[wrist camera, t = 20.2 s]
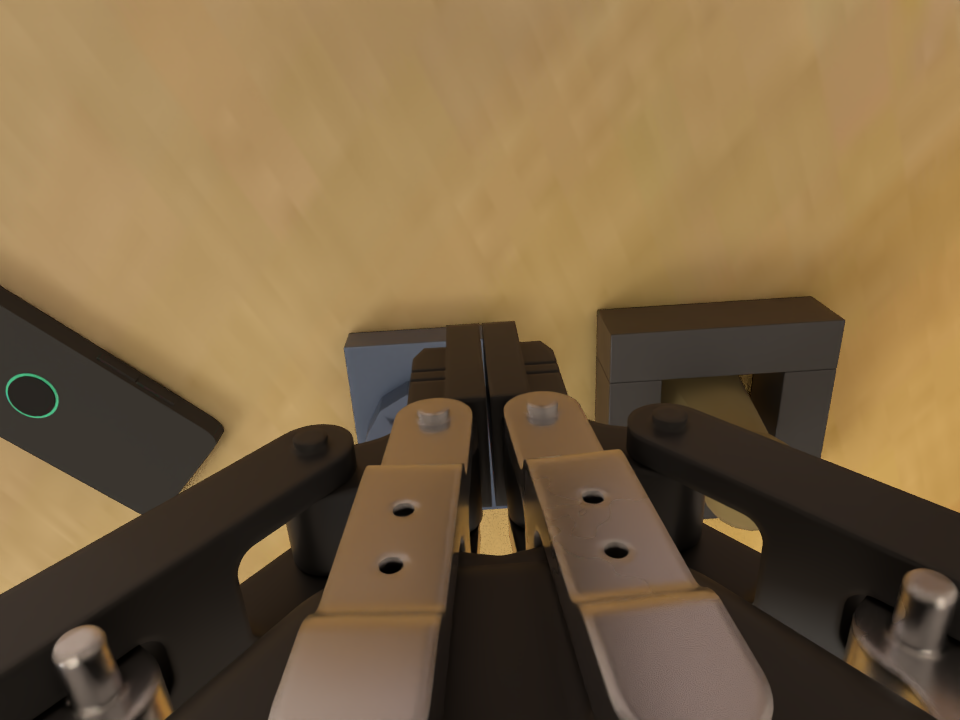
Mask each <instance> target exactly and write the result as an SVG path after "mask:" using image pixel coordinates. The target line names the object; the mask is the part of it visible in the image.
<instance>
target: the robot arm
mask: <svg viewBox="0 0 960 720" xmlns="http://www.w3.org/2000/svg"><path fill="white" fill-rule="evenodd" d="M482 337H483V355H484V369H483V359H482V349H481V338H480V328H479V323H478V324H462V325H447V326H446V347H438V348H424V349H423V350H422V351H421V352H420V353H418V354H417V355H416V356H415V357H414V358H413V362H412V370H411V371H412V373H411V378H410V386H409V394H408V402H407V406H405V407H404V408H402V409H401V410H400V411H399V412H398V413H397V415H396V417H395V420H394V423H393V426H392V430H391V433H390V434H388V435H386V436H383V437H381V438H378V439H375V440H371V441H368V442H363V443H359V444H355V445H354V442H353V437H352V434H351V433H350V432H349V431H348V430H346V429H345V428H343V427H340V426H336V425H328V424H319V425H310V426H305V427H301V428H298V429H295V430H293V431H290V432H288V433H286V434H284V435H282V436H281V437H279V438H277V439H275V440H274V441H272V442H270V443H268V444H267V445H265V446H263V447H261V448H259V449H258V450H256V451H254V452H252V453H251V454H249V455H247V456H245V457H243V458H242V459H240V460H238V461H236V462H235V463H233V464H231V465H229V466H228V467H226V468H224V469H222V470H220V471H219V472H217V473H215V474H213V475H212V476H210V477H208V478H206V479H204V480H203V481H201V482H199V483H197V484H196V485H194V486H192V487H190V488H189V489H187V490H185V491H183V492H181V493H180V494H178V495H176V496H174V497H173V498H171V499H169V500H167V501H165V502H164V503H162V504H160V505H158V506H157V507H155V508H153V509H151V510H150V511H148V512H146V513H144V514H142V515H141V516H139V517H137V518H135V519H134V520H132V521H130V522H128V523H126V524H125V525H123V526H121V527H119V528H118V529H116V530H114V531H112V532H111V533H109V534H107V535H105V536H103V537H102V538H100V539H98V540H96V541H95V542H93V543H91V544H89V545H87V546H86V547H84V548H82V549H80V550H79V551H77V552H75V553H73V554H72V555H70V556H68V557H66V558H64V559H63V560H61V561H59V562H57V563H56V564H54V565H52V566H50V567H48V568H47V569H45V570H43V571H41V572H40V573H38V574H36V575H34V576H33V577H31V578H29V579H27V580H25V581H24V582H22V583H20V584H18V585H17V586H15V587H13V588H11V589H9V590H8V591H6V592H4V593H2V594H1V595H0V720H960V513H958V512H956V511H953V510H950V509H948V508H945V507H943V506H940V505H938V504H935V503H933V502H930V501H928V500H925V499H922V498H920V497H917V496H915V495H912V494H910V493H907V492H905V491H902V490H900V489H897V488H894V487H892V486H889V485H887V484H884V483H882V482H879V481H877V480H874V479H872V478H869V477H866V476H864V475H861V474H859V473H856V472H854V471H851V470H849V469H846V468H844V467H841V466H838V465H836V464H833V463H831V462H828V461H826V460H823V459H821V458H818V457H816V456H813V455H810V454H808V453H805V452H803V451H800V450H798V449H795V448H793V447H790V446H788V445H785V444H783V443H780V442H777V441H775V440H772V439H770V438H767V437H765V436H762V435H760V434H757V433H755V432H752V431H749V430H747V429H744V428H742V427H739V426H737V425H734V424H732V423H729V422H727V421H724V420H721V419H719V418H716V417H714V416H711V415H709V414H706V413H704V412H701V411H699V410H696V409H693V408H690V407H688V406H684V405H679V404H671V403H656V404H649V405H645V406H642V407H639V408H637V409H635V410H634V411H632V412H631V413H630V415H629V417H628V421H627V427H624V426H615V425H607V424H602V423H597V422H594V421H591V420H588V419H587V417H586V415H585V413H584V412H583V410H582V408H581V406H580V404H579V403H578V402H577V401H576V400H575V399H573V398H572V397H570V396H568V395H567V392H566V388H565V385H564V382H563V379H562V376H561V373H560V371H559V367H558V364H557V362H556V358H555V355H554V352H553V350H552V349H551V348H549V347H548V346H547V345H545V344H544V343H542V342H541V341H530V342H519V338H518V334H517V329H516V325H515V321H508V322H492V323H482ZM484 372H485V380H484ZM487 418H488V421H487ZM488 429H489V439H490V450H491V460H492V471H493V481H494V492H495V502H496V506H507V507H508V521H509V538H510V542H511V546H512V551H513V553H512V554H508V555H502V556H495V555H485V554H480V542H481V537H480V522H481V520H482V516H483V511H482V507H492V492H491V474H490V456H489V439H488ZM705 496H707V497H709V498H711V499H713V500H715V501H717V502H719V503H721V504H723V505H725V506H727V507H729V508H732V509H734V510H736V511H738V512H740V513H742V514H744V515H745V516H747V517H748V518H750V519H751V520H752V521H753V522H754V523H755V525H756V526H757V527H758V529H759V531H760V533H761V536H762V540H763V546H762V553H759V552H758V551H756V550H754V549H752V548H750V547H748V546H746V545H744V544H742V543H740V542H738V541H736V540H735V539H733V538H731V537H729V536H727V535H725V534H723V533H721V532H719V531H717V530H715V529H714V528H712V527H710V526H708V525H706V524H704V523H703V515H704V505H705ZM284 524H286V525H287V530H288V535H289V540H290V544H291V548H290V549H289V550H287V551H286V552H285V553H283V554H282V555H280V556H279V557H278V558H276V559H275V560H273V561H272V562H271V563H269V564H268V565H266V566H265V567H264V568H262V569H261V570H260V571H258V572H257V573H255V574H254V575H253V576H251V577H250V578H248V579H247V580H246V581H244V582H243V583H241V584H239V580H238V568H239V565H240V562H241V560H242V558H243V556H244V555H245V554H246V552H247V551H248V550H249V549H250V548H251V547H252V546H254V545H255V544H256V543H258V542H259V541H261V540H262V539H264V538H265V537H267V536H268V535H270V534H271V533H273V532H274V531H276V530H277V529H278V528H280V527H281V526H283V525H284Z"/></svg>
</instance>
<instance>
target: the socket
mask: <svg viewBox="0 0 960 720" xmlns="http://www.w3.org/2000/svg"><path fill="white" fill-rule="evenodd" d="M844 325H845V320H844V319H843V318H842V317H840V316H839V315H837V314H836V313H834V312H833V311H832V310H830V309H829V308H827V307H826V306H824V305H823V304H821V303H820V302H819V301H817V300H816V299H814V298H813V297H811V296H810V297H794V298H778V299H762V300H747V301H731V302H715V303H699V304H684V305H668V306H652V307H636V308H621V309H605V310H598V311H597V356H596V405H595V422H597V423H602V424H607V425H615V426H624V427H627V421H628V417H629V415H630V413H631V412H632V411H634V410H635V409H637V408H639V407H642V406H645V405H649V404H656V403H661V389H662V380H667V379H683V378H698V377H714V376H729V375H745V374H753V382H752V390H751V398H750V399H751V401H752V402H753V404H754V406H755V408H756V410H757V412H758V414H759V416H760V418H761V420H762V422H763V424H764V426H765V428H766V430H767V431H768V433H769V434H771V435H772V436H774V437H776V438H778V439H779V440H781V441H783V442H784V443H786V444H788V445H789V446H790V447H793V448H795V449H798V450H800V451H803V452H805V453H808V454H810V455H813V456H816V457H818V458H821V452H822V447H823V441H824V436H825V430H826V425H827V419H828V413H829V408H830V402H831V397H832V391H833V386H834V380H835V374H836V368H837V364H838V358H839V353H840V347H841V342H842V336H843V331H844ZM713 518H718V517H717V516H716V515H715V514H714V513H713V512H712V511H711V510H710V509H709V507H708V506H707V504H706V502H705V505H704V515H703V519H713Z"/></svg>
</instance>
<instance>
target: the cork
mask: <svg viewBox="0 0 960 720" xmlns="http://www.w3.org/2000/svg"><path fill="white" fill-rule="evenodd" d="M661 403H671V404H679V405H684V406H688V407H690V408H693V409H696V410H699V411H701V412H704V413H706V414H709V415H711V416H714V417H716V418H719V419H721V420H724V421H727V422H729V423H732V424H734V425H737V426H739V427H742V428H744V429H747V430H749V431H752V432H755V433H757V434H760V435H762V436H765V437H767V438H770V439H772V440H775V441H777V442H780V443H783V444H785V445H788V444H786V443H784V442H783V441H781V440H779V439H778V438H776V437H774V436H772V435H771V434H769V433H768V431H767V430H766V428H765V426H764V424H763V422H762V420H761V418H760V416H759V414H758V412H757V410H756V408H755V406H754V404H753V402H752V401H751V399H750V397H749V395H748V393H747V391H746V389H745V387H744V385H743V383H742V381H741V379H740V377H739V376H738V375H729V376H714V377H698V378H683V379H667V380H662V389H661ZM788 446H789V445H788ZM705 502H706V504H707V506H708V507H709V509H710V510H711V511H712V512H713V513H714V514H715V515H716V516H717V517H718V518H719V519H720V520H721V521H723V522H725V523H726V524H728V525H730V526H732V527H735V528H739V529H744V530H749V531H756V530H759V529H758V527H757V526H756V525H755V523H754V522H753V521H752V520H751V519H750V518H748V517H747V516H745V515H744V514H742V513H740V512H738V511H736V510H734V509H732V508H729V507H727V506H725V505H723V504H721V503H719V502H717V501H715V500H713V499H711V498H709V497H707V496H705Z"/></svg>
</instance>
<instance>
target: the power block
mask: <svg viewBox="0 0 960 720" xmlns="http://www.w3.org/2000/svg"><path fill="white" fill-rule="evenodd" d="M479 328H480V338H481V349H482V359H483V369H484V355H483V337H482V325H479ZM438 347H446V327H443V328H427V329H411V330H396V331H380V332H364V333H350V334H349V335H348V338H347V341H346V343H345V346H344V353H345V359H346V366H347V373H348V380H349V386H350V393H351V400H352V407H353V413H354V420H355V427H356V434H357V440H358V444H359V443H363V442H368V441H371V440H375V439H378V438H381V437H383V436H386V435H388V434H390V433H391V430H392V426H393V423H394V420H395V417H396V415H397V413H398V412H399V411H400V410H401V409H402V408H404V407H405V406H407V402H408V394H409V386H410V378H411V373H412V371H411V370H412V362H413V358H414V357H415V356H416V355H417V354H418V353H420V352H421V351H422V350H423V349H424V348H438ZM484 380H485V372H484ZM487 421H488V418H487ZM488 439H489V429H488ZM489 456H490V474H491V492H492V507H482V510H486V509H501V508H508V507H507V506H496V502H495V492H494V481H493V471H492V460H491V450H490V439H489Z"/></svg>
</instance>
